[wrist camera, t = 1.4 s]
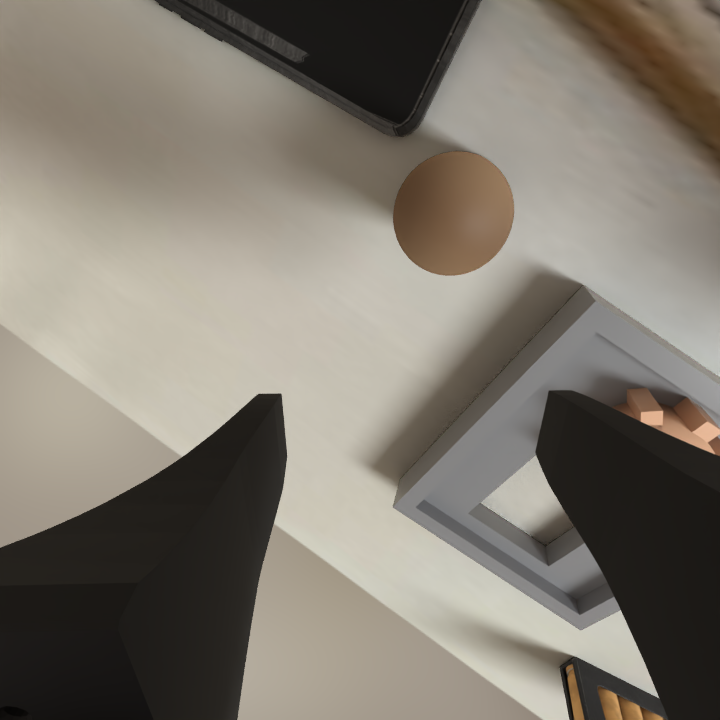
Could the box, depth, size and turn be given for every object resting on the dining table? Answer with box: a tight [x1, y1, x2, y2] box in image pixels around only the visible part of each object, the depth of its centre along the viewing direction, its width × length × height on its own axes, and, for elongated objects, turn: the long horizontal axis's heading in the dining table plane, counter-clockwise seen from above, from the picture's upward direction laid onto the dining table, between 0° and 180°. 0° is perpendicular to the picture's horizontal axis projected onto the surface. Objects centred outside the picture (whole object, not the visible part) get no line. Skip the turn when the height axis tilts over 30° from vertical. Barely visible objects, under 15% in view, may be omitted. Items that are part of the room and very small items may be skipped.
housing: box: [393, 285, 720, 630], centre depth 22 cm, size 16×14×4 cm
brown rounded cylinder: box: [393, 151, 514, 275], centre depth 17 cm, size 4×4×6 cm
